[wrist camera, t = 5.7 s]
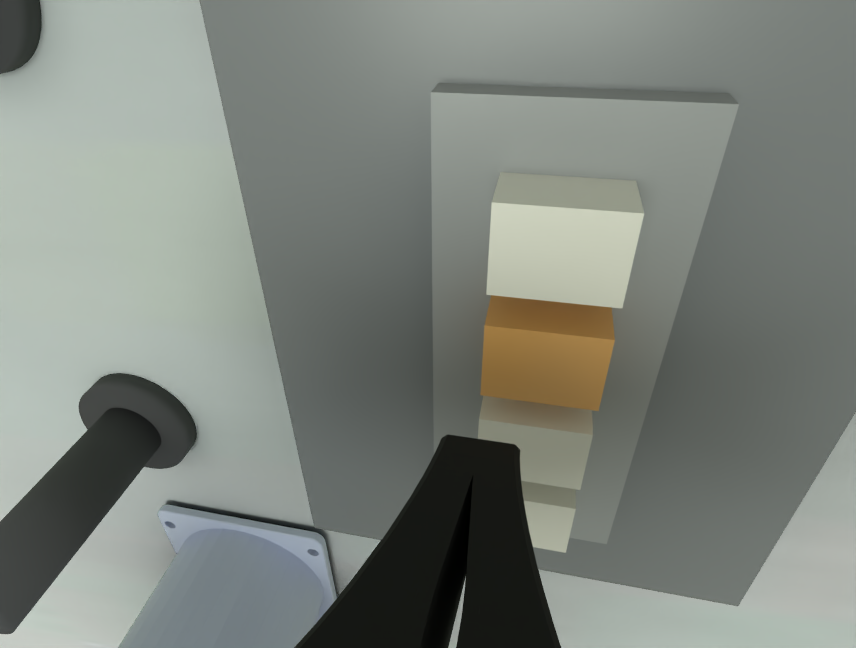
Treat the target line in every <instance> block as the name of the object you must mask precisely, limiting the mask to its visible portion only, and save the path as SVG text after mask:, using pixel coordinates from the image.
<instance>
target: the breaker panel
mask: <svg viewBox="0 0 856 648" xmlns="http://www.w3.org/2000/svg"><path fill="white" fill-rule="evenodd" d="M200 5H201V9H202V14H203V18H204V23H205V28H206V32H207V37H208V41H209V46H210V50H211V55H212V60H213V64H214V69H215V73H216V78H217V83H218V87H219V92H220V96H221V101H222V106H223V110H224V115H225V119H226V124H227V128H228V133H229V138H230V142H231V147H232V151H233V156H234V161H235V165H236V170H237V174H238V179H239V184H240V188H241V193H242V197H243V202H244V206H245V211H246V216H247V220H248V225H249V229H250V234H251V239H252V243H253V248H254V252H255V257H256V262H257V266H258V271H259V275H260V280H261V284H262V289H263V294H264V298H265V303H266V307H267V312H268V317H269V321H270V326H271V330H272V335H273V340H274V344H275V349H276V353H277V358H278V362H279V367H280V372H281V376H282V381H283V385H284V390H285V395H286V399H287V404H288V408H289V413H290V418H291V422H292V427H293V431H294V436H295V440H296V445H297V450H298V454H299V459H300V463H301V468H302V473H303V477H304V482H305V486H306V491H307V496H308V500H309V505H310V509H311V514H312V519H313V523H314V528H319V529H324V530H330V531H335V532H340V533H346V534H351V535H356V536H362V537H367V538H373V539H378V540H382V539H383V537H384V536H385V534H386V533H387V531H388V530H389V528H390V527H391V525H392V524H393V522H394V521H395V519H396V518H397V516H398V515H399V513H400V512H401V510H402V509H403V507H404V506H405V504H406V503H407V501H408V499H409V498H410V496H411V495H412V493H413V491H414V490H415V488H416V486H417V485H418V483H419V481H420V480H421V478H422V476H423V474H424V473H425V471H426V469H427V467H428V465H429V463H430V462H431V460H432V458H433V456H434V454H435V452H436V450H437V447H438V445H439V443H440V440H441V438H442V437H444V436H446V435H448V434H449V435H456V436H463V437H469V438H476V439H483V440H490V441H497V442H503V443H510V444H515V445H516V446H517V447H518V448H519V449H520V473H521V484H522V492H523V499H524V505H525V511H526V517H527V522H528V527H529V532H530V537H531V541H532V545H533V550H534V554H535V558H536V563H537V567H538V569H540V570H545V571H551V572H556V573H561V574H567V575H572V576H578V577H583V578H588V579H594V580H599V581H605V582H610V583H615V584H621V585H626V586H632V587H637V588H642V589H648V590H653V591H658V592H664V593H669V594H675V595H680V596H685V597H691V598H696V599H702V600H707V601H712V602H718V603H723V604H729V605H734V606H738V605H739V604H740V602H741V600H742V599H743V597H744V596H745V594H746V592H747V591H748V589H749V587H750V586H751V584H752V582H753V581H754V579H755V577H756V576H757V574H758V572H759V571H760V569H761V567H762V566H763V564H764V563H765V561H766V559H767V558H768V556H769V554H770V553H771V551H772V549H773V548H774V546H775V544H776V543H777V541H778V539H779V538H780V536H781V534H782V533H783V531H784V529H785V528H786V526H787V525H788V523H789V521H790V520H791V518H792V516H793V515H794V513H795V511H796V510H797V508H798V506H799V505H800V503H801V501H802V500H803V498H804V496H805V495H806V493H807V491H808V490H809V488H810V487H811V485H812V483H813V482H814V480H815V478H816V477H817V475H818V473H819V472H820V470H821V468H822V467H823V465H824V463H825V462H826V460H827V458H828V457H829V455H830V454H831V452H832V450H833V449H834V447H835V445H836V444H837V442H838V440H839V439H840V437H841V435H842V434H843V432H844V430H845V429H846V427H847V425H848V424H849V422H850V420H851V419H852V417H853V416H854V414H855V412H856V0H200Z"/></svg>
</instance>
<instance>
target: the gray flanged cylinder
mask: <svg viewBox="0 0 856 648" xmlns="http://www.w3.org/2000/svg"><path fill="white" fill-rule="evenodd" d="M79 413H80V416H81V419H82V421H83V423H84V425H85V426H86V428H87V429H88V430H87V432H86V433H85V434H84V435H83V436H82V437H81V438H80V439H79V440H78V441H77V442H76V443H75V444H74V445H73V446H72V447H71V448H70V449H69V450H68V451H67V452H66V454H65V455H64V456H63V457H62V458H61V459H60V460H59V461H58V462H57V463H56V464H55V465H54V466H53V467H52V468H51V469H50V470H49V471H48V472H47V473H46V474H45V475H44V477H43V478H42V479H41V480H40V481H39V482H38V483H37V484H36V485H35V486H34V487H33V488H32V489H31V490H30V491H29V492H28V493H27V494H26V495H25V496H24V497H23V498H22V500H21V501H20V502H19V503H18V504H17V505H16V506H15V507H14V508H13V509H12V510H11V511H10V512H9V513H8V514H7V515H6V516H5V517H4V518H3V519H2V520H1V522H0V634H11V633H13V632H14V631H15V630H16V628H17V627H18V626H19V624H20V623H21V622H22V621H23V619H24V618H25V617H26V616H27V614H28V613H29V612H30V611H31V609H32V608H33V607H34V605H35V604H36V603H37V602H38V600H39V599H40V598H41V597H42V595H43V594H44V593H45V591H46V590H47V589H48V588H49V586H50V585H51V584H52V583H53V581H54V580H55V579H56V578H57V576H58V575H59V574H60V572H61V571H62V570H63V569H64V567H65V566H66V565H67V564H68V562H69V561H70V560H71V559H72V557H73V556H74V555H75V553H76V552H77V551H78V550H79V548H80V547H81V546H82V545H83V543H84V542H85V541H86V539H87V538H88V537H89V536H90V534H91V533H92V532H93V531H94V529H95V528H96V527H97V526H98V524H99V523H100V522H101V520H102V519H103V518H104V517H105V515H106V514H107V513H108V512H109V510H110V509H111V508H112V507H113V505H114V504H115V503H116V501H117V500H118V499H119V498H120V496H121V495H122V494H123V493H124V491H125V490H126V489H127V488H128V486H129V485H130V484H131V482H132V481H133V480H134V479H135V477H136V476H137V475H138V474H139V472H140V471H141V470H142V468H143V467H149V468H157V469H163V468H170V467H173V466H175V465H177V464H178V463H180V462H181V461H182V459H183V458H184V457H185V455H186V454H187V453H188V451H189V450H190V448H191V447H192V446H193V444H194V442H195V440H196V427H195V424H194V422H193V419H192V417H191V416H190V414H189V412H188V411H187V410H186V408H185V407H184V406H183V405H182V404H181V403H180V402H179V401H178V400H177V399H176V398H175V397H174V396H173V395H171V394H170V393H169V392H167V391H166V390H165V389H163V388H162V387H160V386H158V385H156V384H155V383H152V382H150V381H148V380H146V379H143V378H140V377H137V376H134V375H129V374H110V375H107V376H104V377H102V378H100V379H99V380H98V381H97V382H96V383H95V384H94V385H93V386H92V387H91V388H90V389H89V390H88V391H87V392H86V393H85V394H84V395H83V396H82V397H81V399H80V402H79Z"/></svg>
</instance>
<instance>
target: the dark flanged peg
mask: <svg viewBox="0 0 856 648" xmlns="http://www.w3.org/2000/svg"><path fill="white" fill-rule="evenodd" d="M40 32H41V10H40V2H39V0H0V74H1V73H5V72H9V71H13V70H15V69H17V68H19V67H21V66H23V65H24V64H25V63H26V62H28V60H29V59H30V58H31V57H32V55H33V54H34V52H35V50H36V48H37V45H38V42H39V38H40Z"/></svg>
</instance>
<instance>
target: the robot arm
mask: <svg viewBox="0 0 856 648" xmlns="http://www.w3.org/2000/svg"><path fill="white" fill-rule="evenodd" d="M158 517H159V519H160V521H161V523H162V525H163V527H164V530H165V532H166V534H167V536H168V538H169V540H170V542H171V544H172V546H173V548H174V550H175V552H176V554H177V555H176V556H175V558H174V559H173V561H172V563H171V564H170V566H169V567H168V569H167V570H166V572H165V574H164V575H163V577H162V578H161V580H160V582H159V583H158V585H157V586H156V588H155V590H154V591H153V593H152V594H151V596H150V598H149V599H148V601H147V602H146V604H145V606H144V607H143V609H142V610H141V612H140V614H139V615H138V617H137V618H136V620H135V622H134V623H133V625H132V626H131V628H130V630H129V631H128V633H127V634H126V636H125V637H124V639H123V641H122V642H121V644H120V645H119V647H118V648H448V646H449V642H450V638H451V634H452V630H453V626H454V621H455V617H456V613H457V609H458V605H459V601H460V597H461V593H462V589H463V585H464V581H465V577H466V583H465V594H464V602H463V611H462V618H461V624H460V630H459V635H458V641H457V647H456V648H561V646H560V643H559V640H558V637H557V633H556V630H555V627H554V624H553V621H552V617H551V614H550V610H549V607H548V603H547V600H546V597H545V593H544V590H543V586H542V582H541V578H540V575H539V571H538V567H537V563H536V558H535V554H534V550H533V545H532V541H531V537H530V532H529V527H528V522H527V517H526V511H525V505H524V499H523V492H522V484H521V473H520V449H519V448H518V447H517V446H516V445H515V444H510V443H503V442H497V441H490V440H483V439H476V438H469V437H463V436H456V435H449V434H448V435H446V436H444V437H442V438H441V440H440V443H439V445H438V447H437V450H436V452H435V454H434V456H433V458H432V460H431V462H430V463H429V465H428V467H427V469H426V471H425V473H424V474H423V476H422V478H421V480H420V481H419V483H418V485H417V486H416V488H415V490H414V491H413V493H412V495H411V496H410V498H409V499H408V501H407V503H406V504H405V506H404V507H403V509H402V510H401V512H400V513H399V515H398V516H397V518H396V519H395V521H394V522H393V524H392V525H391V527H390V528H389V530H388V531H387V533H386V534H385V536H384V537H383V539H382V540H381V541H380V543H379V544H378V545H377V547H376V548H375V549H374V551H373V552H372V553H371V555H370V556H369V558H368V559H367V560H366V562H365V563H364V564H363V566H362V567H361V568H360V570H359V571H358V572H357V574H356V575H355V576H354V578H353V579H352V580H351V582H350V583H349V584H348V585H347V587H346V588H345V589H344V590H343V592H342V593H341V594H340V595H339V597H338V598H337V596H336V591H335V586H334V581H333V576H332V571H331V566H330V562H329V557H328V552H327V547H326V542H325V539H324V537H323V536H322V535H320V534H318V533H316V532H312V531H306V530H301V529H296V528H290V527H285V526H280V525H274V524H269V523H264V522H258V521H253V520H248V519H242V518H237V517H232V516H226V515H221V514H215V513H210V512H205V511H199V510H194V509H189V508H183V507H178V506H173V505H163V506H162V507H161V508H160V510H159V511H158Z"/></svg>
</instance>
